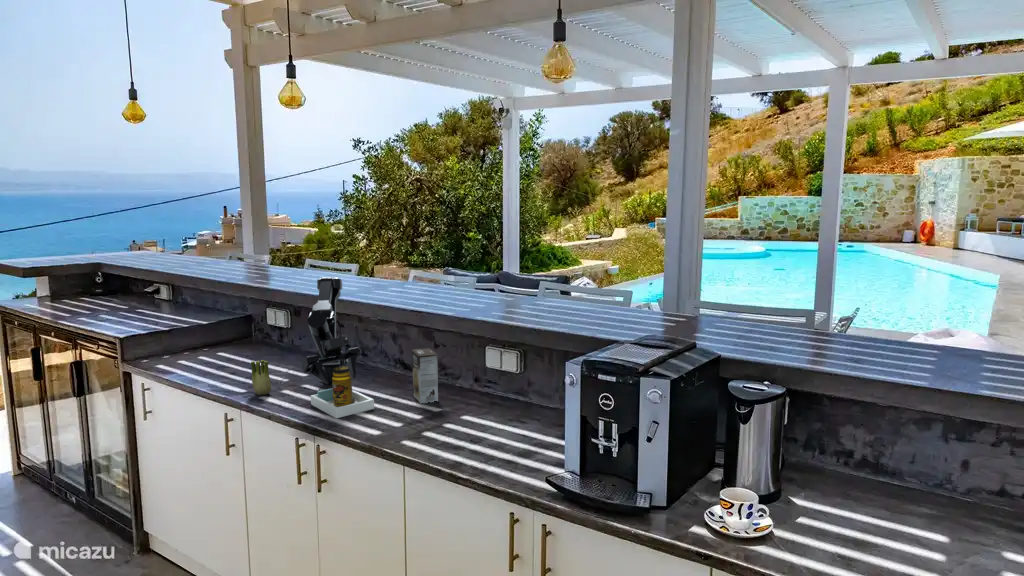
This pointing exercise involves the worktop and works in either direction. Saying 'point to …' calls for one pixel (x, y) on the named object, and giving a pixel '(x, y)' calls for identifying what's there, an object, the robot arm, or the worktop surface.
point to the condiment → (342, 387)
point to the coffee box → (425, 375)
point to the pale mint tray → (360, 405)
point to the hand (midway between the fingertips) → (341, 381)
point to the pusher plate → (325, 394)
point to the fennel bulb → (261, 377)
